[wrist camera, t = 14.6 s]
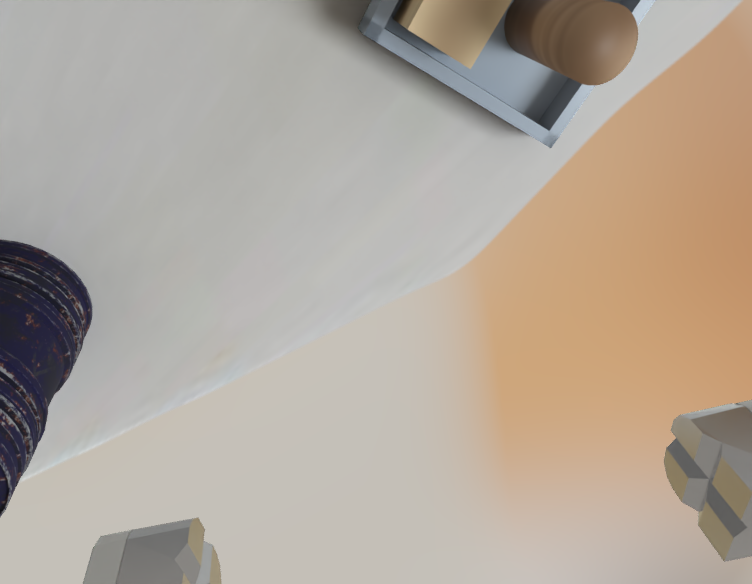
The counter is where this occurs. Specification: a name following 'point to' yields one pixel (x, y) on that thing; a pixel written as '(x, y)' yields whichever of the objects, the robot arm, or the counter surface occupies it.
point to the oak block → (453, 24)
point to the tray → (493, 72)
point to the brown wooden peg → (574, 36)
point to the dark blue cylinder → (34, 349)
